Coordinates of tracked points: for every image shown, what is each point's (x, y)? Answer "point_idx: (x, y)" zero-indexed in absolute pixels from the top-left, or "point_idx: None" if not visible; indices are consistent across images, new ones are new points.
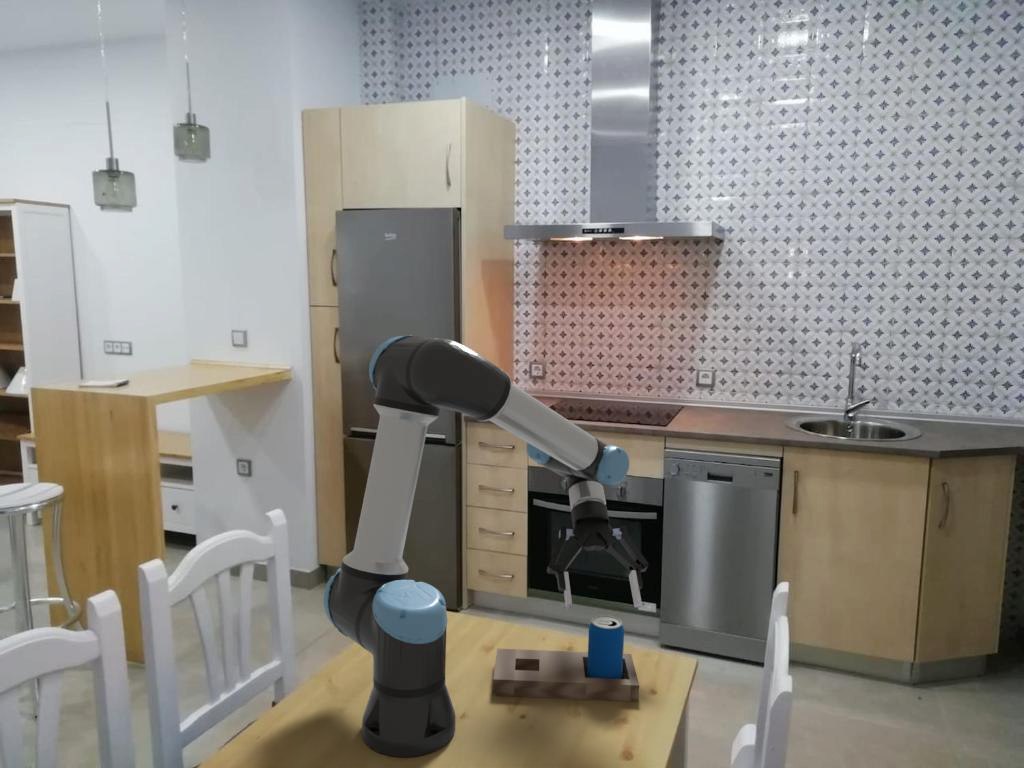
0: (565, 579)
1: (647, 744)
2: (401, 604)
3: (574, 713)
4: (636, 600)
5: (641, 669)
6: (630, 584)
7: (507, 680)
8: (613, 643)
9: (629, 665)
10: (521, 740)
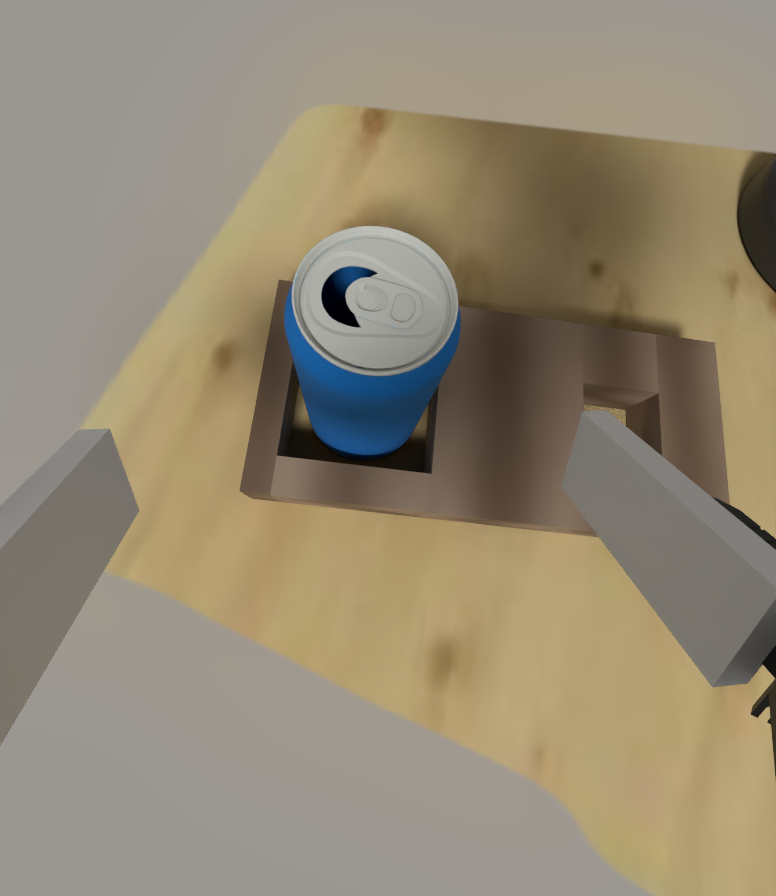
0: (739, 522)
1: (319, 146)
2: None
3: (470, 270)
4: (107, 461)
5: (214, 493)
6: (48, 655)
7: (673, 337)
8: (354, 266)
9: (273, 403)
10: (595, 186)
